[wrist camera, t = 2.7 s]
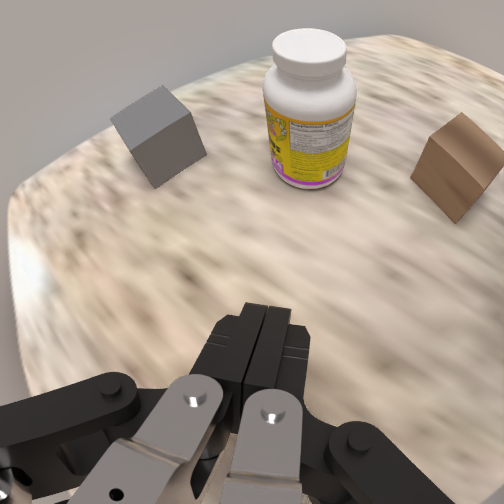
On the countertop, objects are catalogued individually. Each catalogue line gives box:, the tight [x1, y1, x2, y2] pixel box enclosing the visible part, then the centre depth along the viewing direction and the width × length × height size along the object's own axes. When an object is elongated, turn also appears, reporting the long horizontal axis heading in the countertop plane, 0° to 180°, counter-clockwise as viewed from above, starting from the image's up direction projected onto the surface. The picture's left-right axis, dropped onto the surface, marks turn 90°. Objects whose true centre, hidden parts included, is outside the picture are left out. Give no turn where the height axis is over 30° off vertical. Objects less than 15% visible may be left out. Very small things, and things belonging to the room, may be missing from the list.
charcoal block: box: [110, 85, 207, 189], centre depth 28 cm, size 6×6×6 cm
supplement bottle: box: [263, 28, 357, 189], centre depth 22 cm, size 7×7×13 cm
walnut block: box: [411, 112, 504, 224], centre depth 23 cm, size 6×6×6 cm
